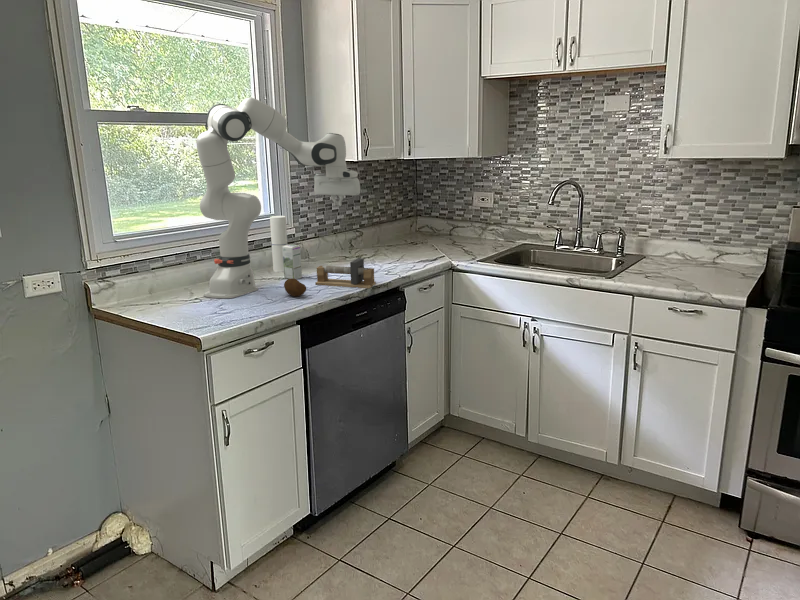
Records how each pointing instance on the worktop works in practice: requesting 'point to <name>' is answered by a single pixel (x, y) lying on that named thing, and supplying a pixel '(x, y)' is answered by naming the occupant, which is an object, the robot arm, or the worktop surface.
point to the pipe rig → (323, 280)
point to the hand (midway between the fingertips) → (337, 205)
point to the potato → (294, 287)
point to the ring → (356, 270)
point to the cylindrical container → (278, 241)
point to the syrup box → (292, 261)
